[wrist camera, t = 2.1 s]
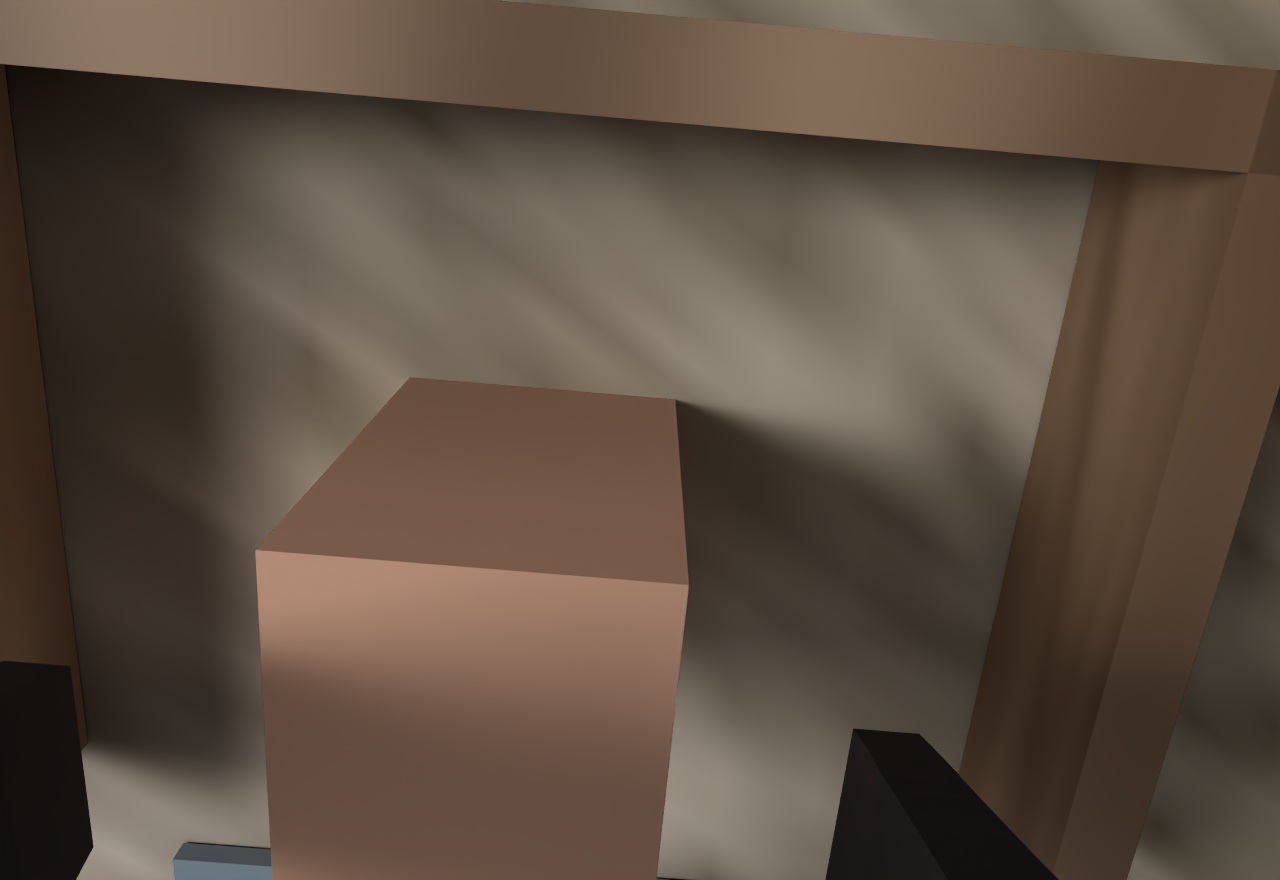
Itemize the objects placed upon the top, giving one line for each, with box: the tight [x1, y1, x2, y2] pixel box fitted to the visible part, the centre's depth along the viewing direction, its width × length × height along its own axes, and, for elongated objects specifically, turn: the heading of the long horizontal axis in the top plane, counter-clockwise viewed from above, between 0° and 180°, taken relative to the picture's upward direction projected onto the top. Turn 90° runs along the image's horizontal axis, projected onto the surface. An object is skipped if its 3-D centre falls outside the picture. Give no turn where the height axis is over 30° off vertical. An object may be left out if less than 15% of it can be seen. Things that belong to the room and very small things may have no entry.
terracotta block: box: [255, 378, 689, 880], centre depth 12 cm, size 4×4×6 cm
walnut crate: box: [0, 0, 1280, 880], centre depth 13 cm, size 17×12×4 cm
